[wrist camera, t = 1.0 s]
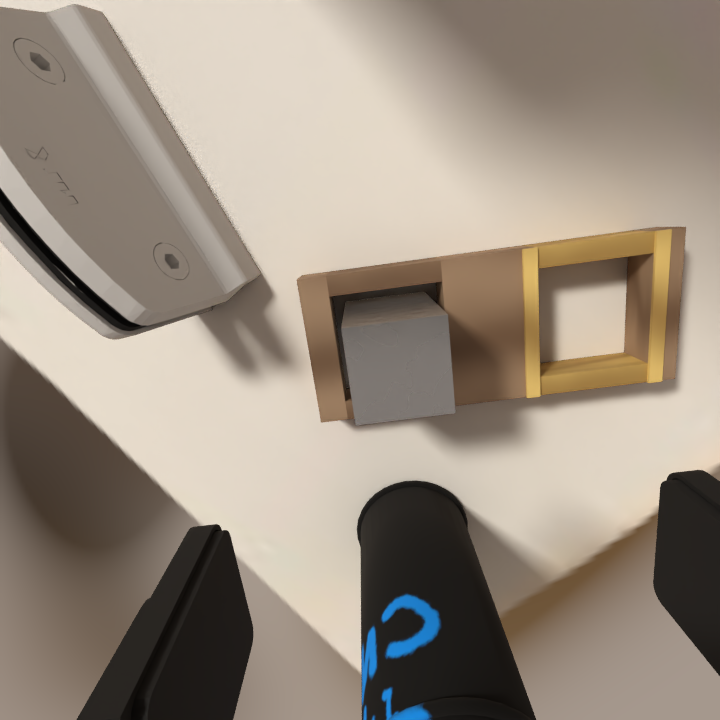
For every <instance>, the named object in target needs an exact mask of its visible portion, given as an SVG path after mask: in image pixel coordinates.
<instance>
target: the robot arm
mask: <svg viewBox="0 0 720 720" xmlns="http://www.w3.org/2000/svg"><path fill="white" fill-rule="evenodd" d="M657 527H658V528H657V541H656V553H655V567H654V580H653V584H654V590H655V593H656V595H657V597H658V599H659V600H660V602H661V604H662V605H663V606H664V607H665V609H666V610H667V611H668V612H669V614H670V615H671V616H672V617H673V619H674V620H675V621H676V622H677V624H678V625H679V626H680V627H681V628H682V630H683V631H684V632H685V634H686V635H687V636H688V637H689V638H690V640H691V641H692V642H693V643H694V645H695V646H696V647H697V648H698V650H699V651H700V652H701V653H702V654H703V656H704V657H705V658H706V660H707V661H708V662H709V663H710V664H711V666H712V667H713V668H714V669H715V671H716V672H717V673H718V674H719V676H720V481H718V480H717V479H715V478H714V477H713V476H711V475H710V474H708V473H707V472H705V471H703V470H694V471H685V472H676V473H672V474H670V475H669V476H668V477H667V481H664V482H662V484H661V487H660V499H659V512H658V526H657ZM252 642H253V625H252V621H251V617H250V613H249V609H248V605H247V601H246V597H245V593H244V589H243V585H242V581H241V577H240V573H239V569H238V565H237V561H236V557H235V553H234V549H233V545H232V541H231V537H230V534H229V532H228V531H227V530H223V531H222V530H221V527H220V526H219V525H217V524H215V525H206V526H197V527H192V528H190V529H189V531H188V532H187V534H186V536H185V538H184V539H183V541H182V543H181V545H180V546H179V548H178V550H177V552H176V554H175V555H174V557H173V559H172V561H171V562H170V564H169V566H168V568H167V569H166V571H165V573H164V575H163V576H162V579H161V580H160V582H159V584H158V585H157V587H156V589H155V591H154V593H153V594H152V596H151V598H149V599H148V600H146V602H145V603H144V604H143V606H142V607H141V609H140V610H139V612H138V614H137V616H136V617H135V619H134V621H133V623H132V624H131V626H130V628H129V629H128V631H127V633H126V635H125V636H124V638H123V640H122V642H121V644H120V645H119V647H118V649H117V650H116V653H115V654H114V656H113V657H112V659H111V661H110V663H109V664H108V666H107V668H106V669H105V671H104V673H103V675H102V677H101V678H100V680H99V682H98V683H97V685H96V687H95V689H94V691H93V692H92V694H91V696H90V697H89V699H88V701H87V703H86V704H85V706H84V708H83V710H82V711H81V713H80V715H79V716H78V718H77V720H233V718H234V714H235V710H236V706H237V702H238V698H239V694H240V690H241V686H242V682H243V679H244V674H245V670H246V667H247V663H248V659H249V655H250V651H251V647H252Z"/></svg>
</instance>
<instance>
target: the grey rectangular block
mask: <svg viewBox="0 0 720 720" xmlns="http://www.w3.org/2000/svg"><path fill="white" fill-rule="evenodd" d="M341 331H342V338H343V344H344V351H345V358H346V365H347V371H348V378H349V385H350V391H351V398H352V405H353V412H354V418H355V425H364V424H373V423H381V422H389V421H397V420H405V419H413V418H421V417H429V416H437V415H445V414H453V413H456V412H455V400H454V387H453V374H452V361H451V348H450V335H449V323H448V314H447V313H446V312H445V311H444V310H443V309H442V308H441V307H440V306H439V305H438V304H437V303H435V302H434V301H433V300H432V299H431V298H430V297H429V296H428V295H427V294H426V293H425V292H424V291H421V292H413V293H406V294H398V295H391V296H383V297H376V298H368V299H361V300H353V301H346V304H345V309H344V315H343V321H342V326H341Z"/></svg>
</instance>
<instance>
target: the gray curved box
mask: <svg viewBox="0 0 720 720" xmlns="http://www.w3.org/2000/svg"><path fill="white" fill-rule="evenodd" d="M0 242H1V243H2V244H3V245H4V246H5V247H6V248H7V249H8V251H9V252H10V253H11V254H12V255H13V256H14V257H15V258H16V260H17V261H18V262H19V263H20V264H21V265H22V266H23V267H24V268H25V269H26V270H27V271H28V272H29V273H30V274H31V275H32V276H33V277H34V278H35V279H36V280H37V281H38V282H39V283H40V284H41V285H42V286H43V287H44V288H45V289H46V290H47V291H48V292H49V293H50V294H51V295H53V296H54V297H55V298H56V299H57V300H58V301H59V302H60V303H61V304H63V305H64V306H65V307H66V308H67V309H69V310H70V311H71V312H72V313H73V314H74V315H76V316H77V317H78V318H79V319H80V320H82V321H83V322H84V323H86V324H87V325H88V326H90V327H91V328H92V329H94V330H95V331H96V332H98V333H99V334H100V335H102V336H104V337H106V338H109V339H121V338H125V337H129V336H133V335H137V334H140V333H143V332H146V331H149V330H152V329H155V328H158V327H161V326H164V325H167V324H170V323H174V322H177V321H180V320H183V319H186V318H189V317H192V316H195V315H198V314H201V313H204V312H207V311H210V310H213V309H212V308H211V306H214V305H217V304H220V303H223V302H227V301H228V300H229V299H230V298H231V297H232V296H233V295H234V294H235V293H236V292H237V291H238V290H239V289H241V288H242V287H243V286H244V285H245V284H247V283H249V282H251V281H253V280H254V279H256V278H257V277H258V276H259V275H261V273H260V271H259V269H258V268H257V266H256V264H255V263H254V261H253V259H252V258H251V256H250V254H249V253H248V251H247V250H246V248H245V246H244V245H243V243H242V241H241V240H240V238H239V236H238V235H237V233H236V231H235V230H234V228H233V226H232V225H231V223H230V222H229V220H228V218H227V217H226V215H225V213H224V212H223V210H222V208H221V207H220V205H219V203H218V202H217V200H216V199H215V197H214V195H213V194H212V192H211V190H210V189H209V187H208V185H207V184H206V182H205V180H204V179H203V177H202V176H201V174H200V172H199V171H198V169H197V167H196V166H195V164H194V162H193V161H192V159H191V157H190V156H189V154H188V152H187V151H186V149H185V148H184V146H183V144H182V143H181V141H180V139H179V138H178V136H177V134H176V133H175V131H174V129H173V128H172V126H171V125H170V123H169V121H168V120H167V118H166V116H165V115H164V113H163V111H162V110H161V108H160V106H159V105H158V103H157V102H156V100H155V98H154V97H153V95H152V93H151V92H150V90H149V88H148V87H147V85H146V83H145V82H144V80H143V78H142V77H141V75H140V74H139V72H138V70H137V69H136V67H135V65H134V64H133V62H132V60H131V59H130V57H129V55H128V54H127V52H126V51H125V49H124V47H123V46H122V44H121V42H120V41H119V39H118V37H117V36H116V34H115V32H114V31H113V29H112V28H111V26H110V24H109V23H108V21H107V19H106V18H105V16H104V14H103V13H102V12H100V11H97V10H94V9H91V8H87V7H84V6H81V5H76V4H73V5H69V6H66V7H63V8H60V9H57V10H54V11H51V12H45V13H44V12H36V11H29V10H21V9H14V8H6V7H0Z"/></svg>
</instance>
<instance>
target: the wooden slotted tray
mask: <svg viewBox="0 0 720 720" xmlns="http://www.w3.org/2000/svg"><path fill="white" fill-rule="evenodd" d="M685 233H686V227H654V228H647V229H640V230H632V231H625V232H618V233H610V234H603V235H596V236H588V237H581V238H574V239H566V240H559V241H551V242H544V243H537V244H529V245H522V246H515V247H507V248H500V249H493V250H485V251H478V252H471V253H463V254H456V255H449V256H441V257H434V258H427V259H419V260H412V261H405V262H397V263H390V264H383V265H375V266H368V267H361V268H353V269H346V270H339V271H331V272H324V273H317V274H309V275H302V276H301V277H300V278H298V279H297V285H298V291H299V296H300V302H301V308H302V314H303V320H304V325H305V331H306V337H307V343H308V349H309V354H310V360H311V366H312V372H313V378H314V383H315V389H316V395H317V401H318V407H319V412H320V418H321V422H329V421H337V420H345V419H353V418H354V412H353V405H352V398H351V391H350V387H348V388H346V383H345V376H344V369H343V363H342V356H341V350H340V343H339V336H338V330H337V323H336V317H335V310H334V303H333V297H332V296H337V295H345V294H352V293H360V292H367V291H375V290H382V289H390V288H397V287H405V286H412V285H419V284H427V283H434V282H436V292H437V304H438V305H439V306H440V307H441V308H442V309H443V310H444V311H445V312H446V313H447V314H448V323H449V335H450V348H451V361H452V374H453V387H454V400H455V406H458V405H466V404H474V403H482V402H490V401H498V400H506V399H514V398H522V397H527V398H533V397H540V395H546V394H554V393H562V392H570V391H579V390H587V389H595V388H603V387H611V386H619V385H627V384H635V383H643V382H648V383H654V382H662V380H667V379H675V371H676V357H677V344H678V330H679V316H680V302H681V288H682V275H683V261H684V247H685ZM621 257H628V266H627V293H626V320H625V346H624V353H617V354H609V355H601V356H593V357H585V358H577V359H569V360H561V361H553V362H546V363H540V346H539V293H538V269H539V268H546V267H554V266H561V265H568V264H576V263H583V262H591V261H598V260H606V259H613V258H621Z"/></svg>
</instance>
